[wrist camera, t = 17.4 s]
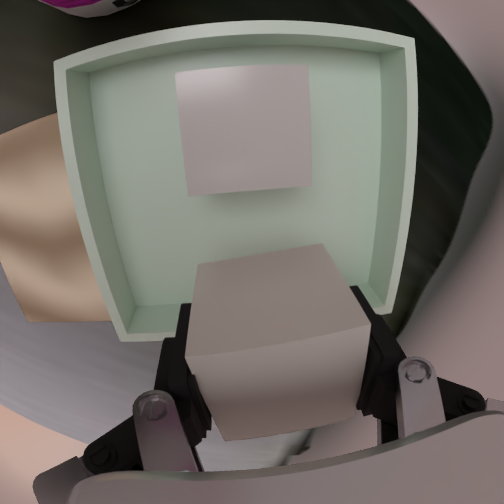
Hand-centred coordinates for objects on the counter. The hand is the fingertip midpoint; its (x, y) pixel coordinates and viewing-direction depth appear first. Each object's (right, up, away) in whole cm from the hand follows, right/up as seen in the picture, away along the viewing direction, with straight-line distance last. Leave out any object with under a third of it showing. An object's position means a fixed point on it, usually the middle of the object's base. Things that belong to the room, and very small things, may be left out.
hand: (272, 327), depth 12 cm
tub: (-1, +7, +6) cm, 9 cm away
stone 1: (-1, +10, +4) cm, 11 cm away
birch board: (-16, +4, +6) cm, 18 cm away
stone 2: (0, +1, +2) cm, 2 cm away
